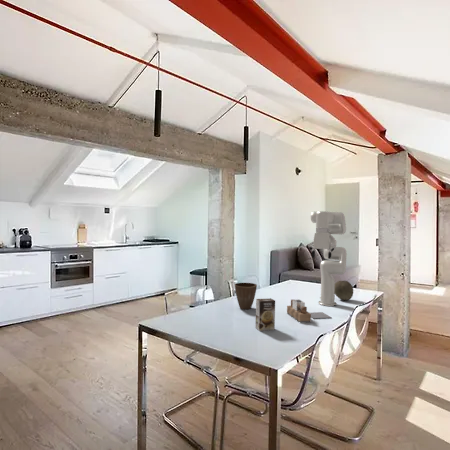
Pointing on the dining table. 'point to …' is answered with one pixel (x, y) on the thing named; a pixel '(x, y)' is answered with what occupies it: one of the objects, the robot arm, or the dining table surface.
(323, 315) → the rubber mat
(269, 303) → the coffee box
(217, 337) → the dining table surface
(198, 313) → the dining table surface
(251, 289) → the plant pot
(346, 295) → the cantaloupe
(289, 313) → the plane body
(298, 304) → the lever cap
